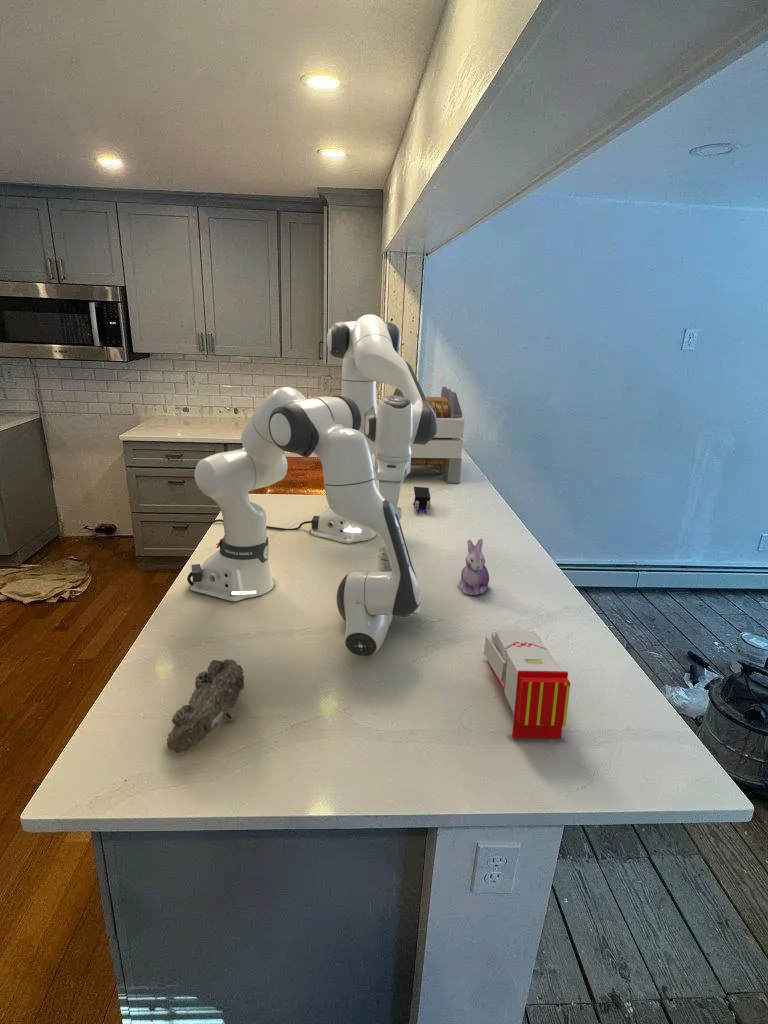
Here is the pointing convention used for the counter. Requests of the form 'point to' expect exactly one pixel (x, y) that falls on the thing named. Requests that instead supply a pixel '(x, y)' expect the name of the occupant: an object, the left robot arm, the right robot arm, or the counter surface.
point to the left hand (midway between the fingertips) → (387, 585)
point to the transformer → (442, 437)
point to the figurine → (474, 571)
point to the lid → (398, 512)
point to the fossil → (206, 705)
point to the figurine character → (421, 499)
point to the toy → (529, 683)
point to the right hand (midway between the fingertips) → (389, 517)
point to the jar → (384, 561)
